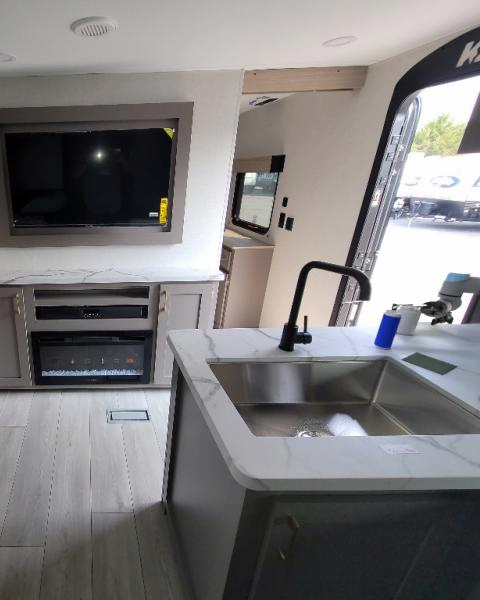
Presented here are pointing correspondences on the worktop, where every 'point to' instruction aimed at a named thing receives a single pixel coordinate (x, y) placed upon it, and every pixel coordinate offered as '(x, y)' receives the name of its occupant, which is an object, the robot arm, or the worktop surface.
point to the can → (408, 319)
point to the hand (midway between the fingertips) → (411, 316)
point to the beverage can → (387, 329)
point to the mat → (429, 363)
